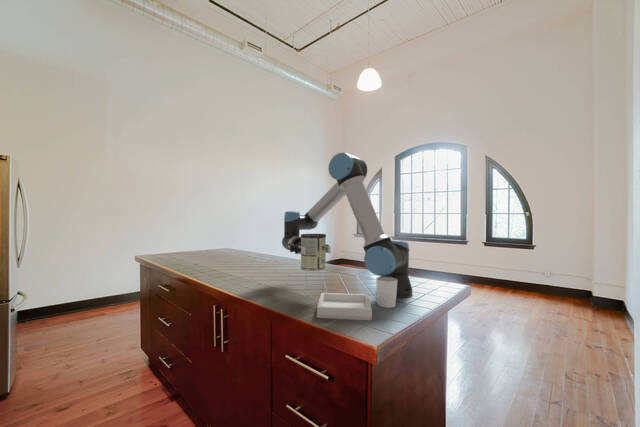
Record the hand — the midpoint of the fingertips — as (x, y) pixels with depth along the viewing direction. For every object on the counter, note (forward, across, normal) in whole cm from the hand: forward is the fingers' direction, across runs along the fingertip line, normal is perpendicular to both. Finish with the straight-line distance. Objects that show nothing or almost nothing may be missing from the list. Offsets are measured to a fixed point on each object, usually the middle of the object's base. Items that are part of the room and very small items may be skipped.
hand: (317, 250), depth 114 cm
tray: (+13, -5, -20) cm, 25 cm away
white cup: (+14, -23, -20) cm, 34 cm away
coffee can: (-4, 0, -8) cm, 9 cm away
